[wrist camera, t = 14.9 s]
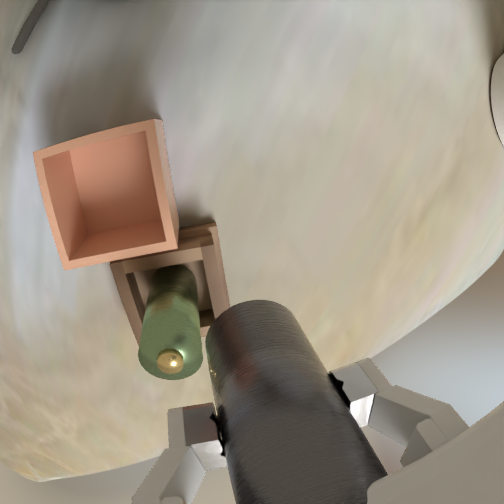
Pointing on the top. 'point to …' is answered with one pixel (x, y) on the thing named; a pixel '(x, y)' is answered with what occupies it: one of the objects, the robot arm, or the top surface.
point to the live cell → (171, 325)
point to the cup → (109, 194)
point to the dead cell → (283, 413)
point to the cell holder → (188, 255)
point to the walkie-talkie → (29, 26)
